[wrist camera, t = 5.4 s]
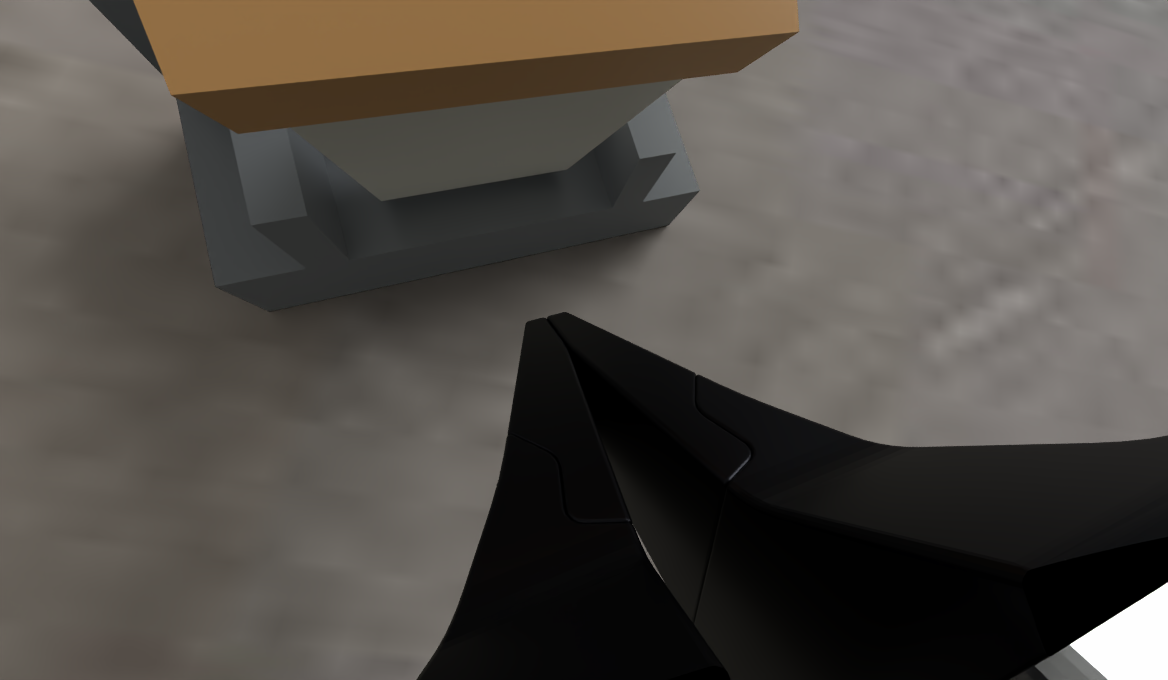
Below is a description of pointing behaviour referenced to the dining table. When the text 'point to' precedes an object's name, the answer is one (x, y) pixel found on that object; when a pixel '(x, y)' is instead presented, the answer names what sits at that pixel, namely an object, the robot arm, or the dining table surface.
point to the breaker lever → (448, 75)
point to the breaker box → (403, 205)
